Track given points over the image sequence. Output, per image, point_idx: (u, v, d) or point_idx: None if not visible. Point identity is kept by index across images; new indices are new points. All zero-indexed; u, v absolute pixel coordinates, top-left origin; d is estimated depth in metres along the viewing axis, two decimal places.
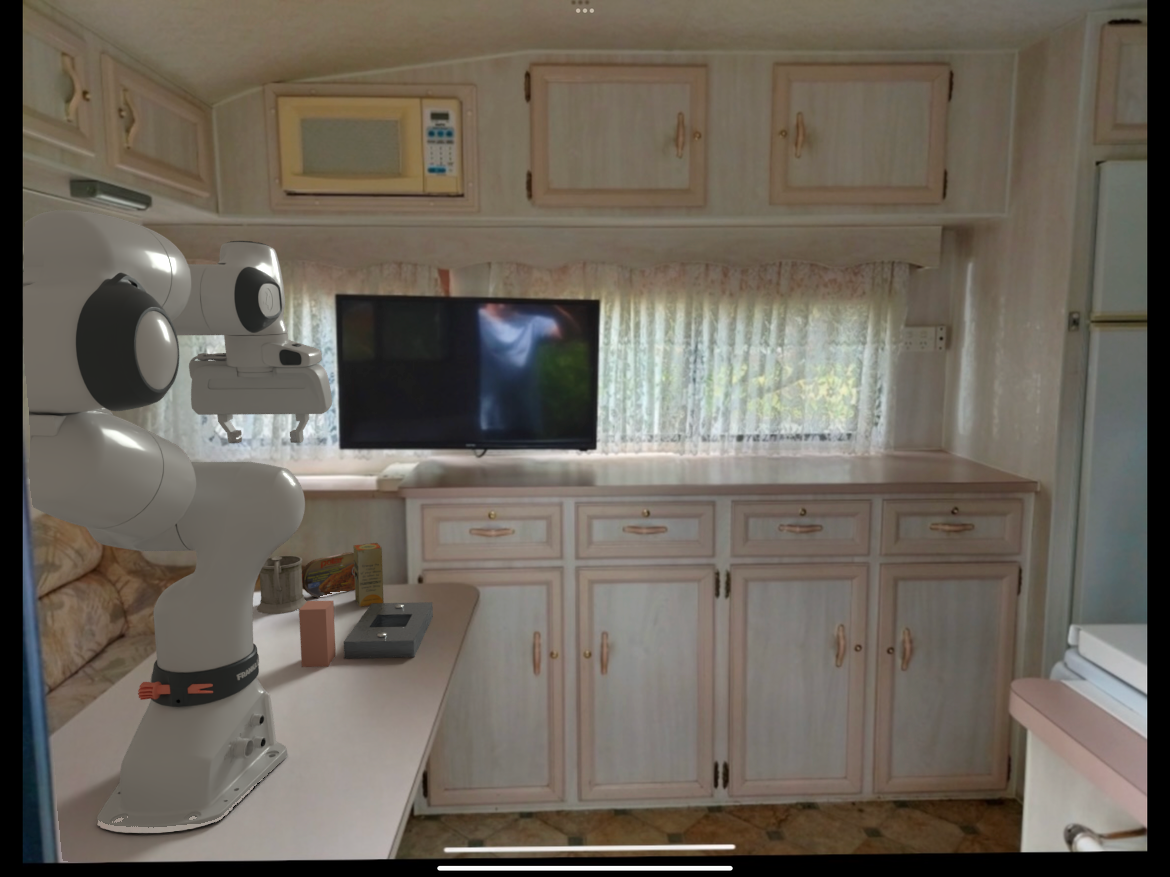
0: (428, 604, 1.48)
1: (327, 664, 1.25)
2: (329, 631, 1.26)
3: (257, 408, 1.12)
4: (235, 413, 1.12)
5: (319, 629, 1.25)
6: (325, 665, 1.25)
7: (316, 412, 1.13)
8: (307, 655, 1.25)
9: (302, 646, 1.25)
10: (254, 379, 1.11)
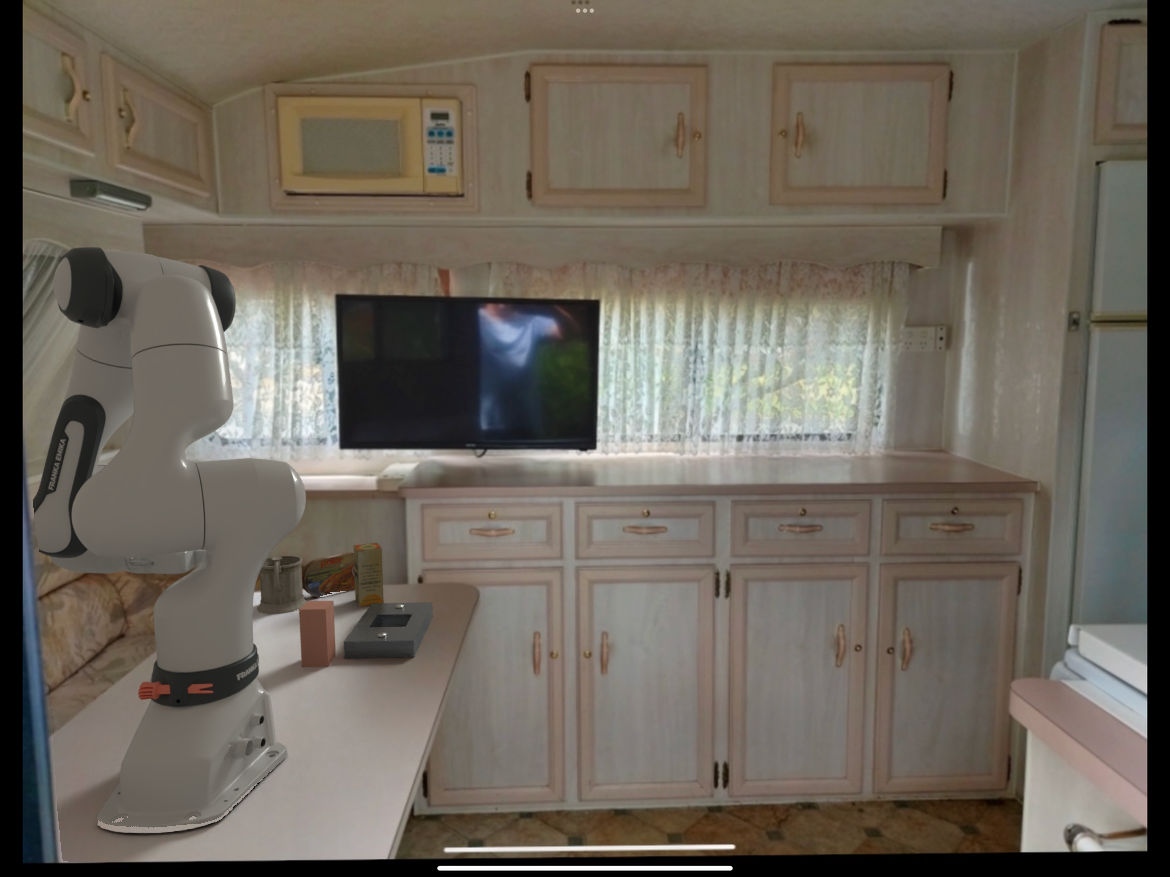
0: (428, 604, 1.48)
1: (327, 664, 1.25)
2: (329, 631, 1.26)
3: None
4: None
5: (319, 629, 1.25)
6: (325, 665, 1.25)
7: None
8: (307, 655, 1.25)
9: (302, 646, 1.25)
10: None
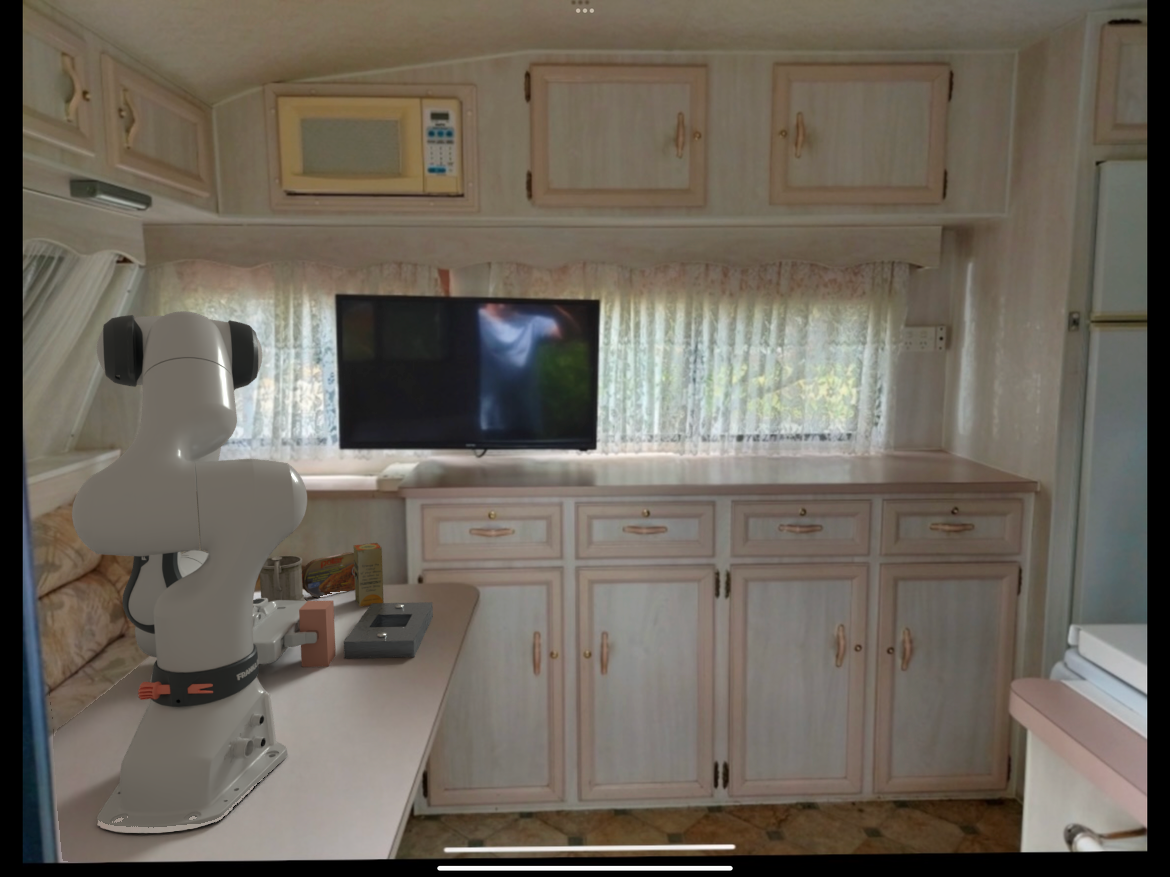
0: (428, 604, 1.48)
1: (327, 664, 1.25)
2: (329, 631, 1.26)
3: (288, 620, 1.26)
4: (286, 628, 1.23)
5: (319, 629, 1.25)
6: (325, 665, 1.25)
7: None
8: (307, 655, 1.25)
9: (302, 646, 1.25)
10: (262, 622, 1.26)
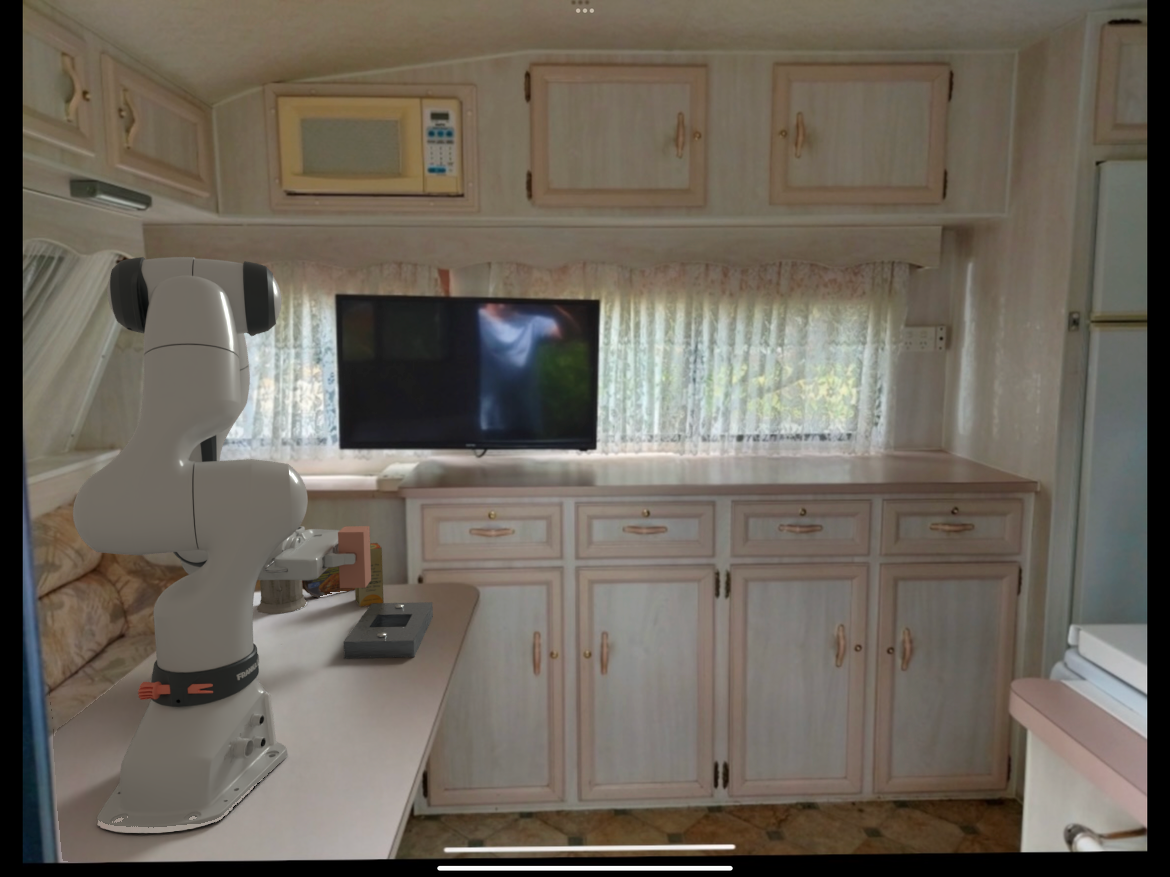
0: (428, 604, 1.48)
1: (364, 585, 1.31)
2: (366, 554, 1.32)
3: (327, 544, 1.31)
4: (326, 550, 1.28)
5: (357, 551, 1.30)
6: (362, 586, 1.31)
7: None
8: (345, 576, 1.30)
9: (340, 568, 1.30)
10: (301, 545, 1.31)
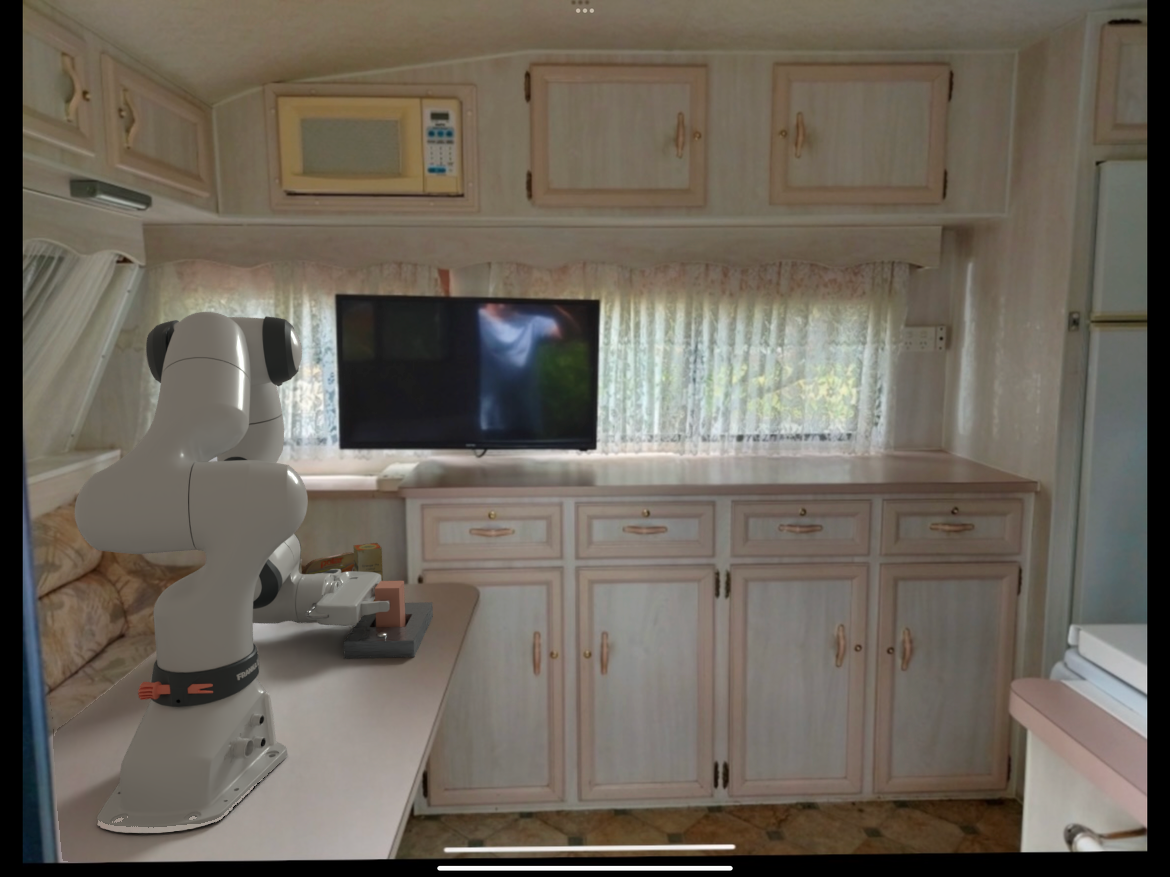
0: (428, 604, 1.48)
1: None
2: (401, 608, 1.38)
3: (364, 588, 1.37)
4: (363, 594, 1.34)
5: (393, 606, 1.36)
6: None
7: (378, 574, 1.46)
8: None
9: (377, 622, 1.36)
10: (340, 590, 1.37)
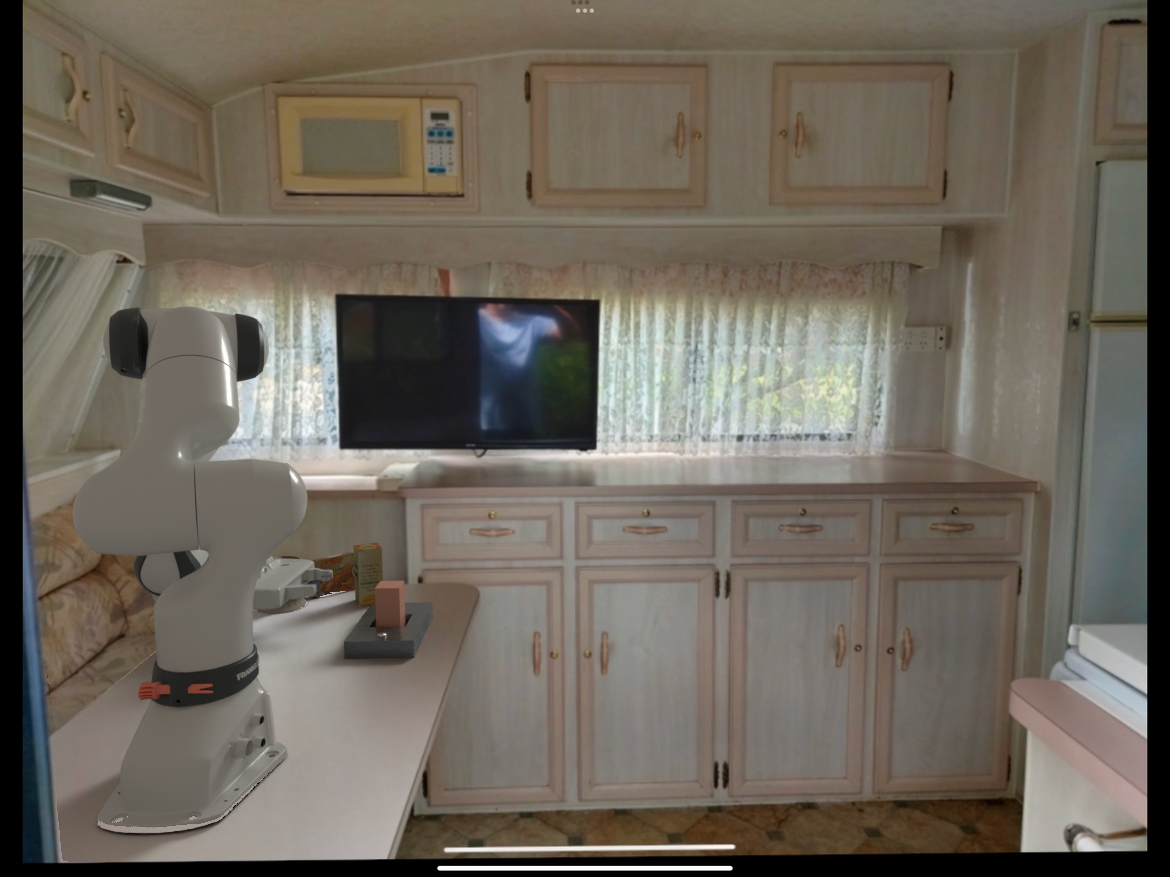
0: (428, 604, 1.48)
1: None
2: (401, 608, 1.38)
3: (292, 573, 1.36)
4: (290, 579, 1.33)
5: (393, 606, 1.36)
6: None
7: (311, 562, 1.45)
8: None
9: (377, 622, 1.36)
10: (267, 575, 1.36)
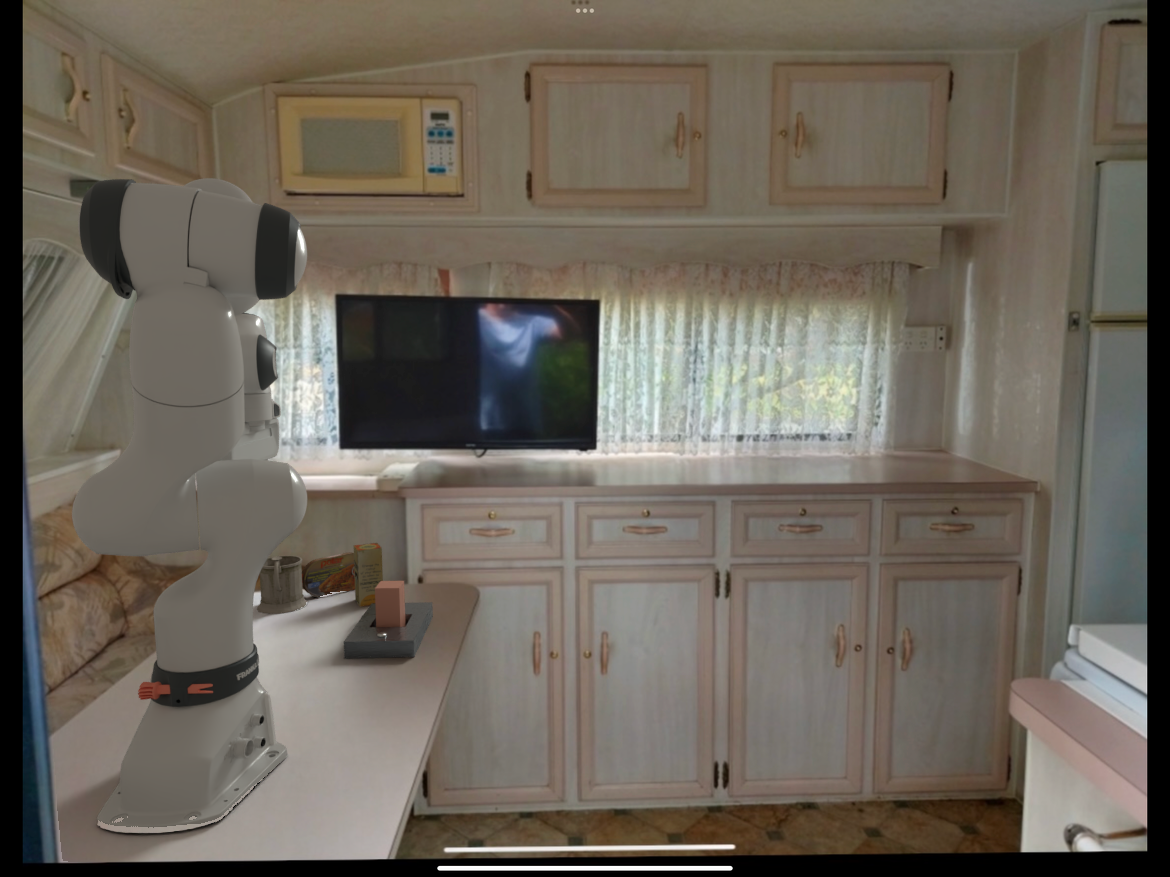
0: (428, 604, 1.48)
1: None
2: (401, 608, 1.38)
3: (257, 458, 1.27)
4: None
5: (393, 606, 1.36)
6: None
7: (275, 455, 1.36)
8: None
9: (377, 622, 1.36)
10: (254, 432, 1.26)
